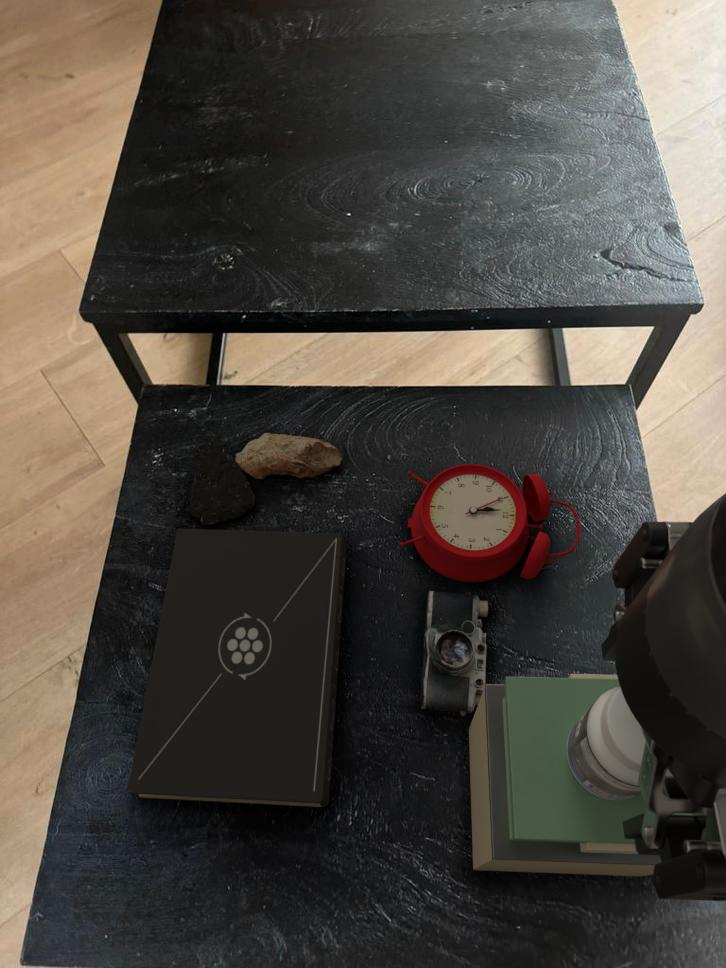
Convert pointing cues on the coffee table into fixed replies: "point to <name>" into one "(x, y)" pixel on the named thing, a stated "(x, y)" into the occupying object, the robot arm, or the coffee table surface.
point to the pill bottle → (607, 748)
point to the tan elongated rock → (287, 456)
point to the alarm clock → (481, 523)
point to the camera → (453, 652)
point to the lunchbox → (557, 767)
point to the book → (244, 670)
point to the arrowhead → (218, 486)
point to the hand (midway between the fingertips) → (632, 737)
